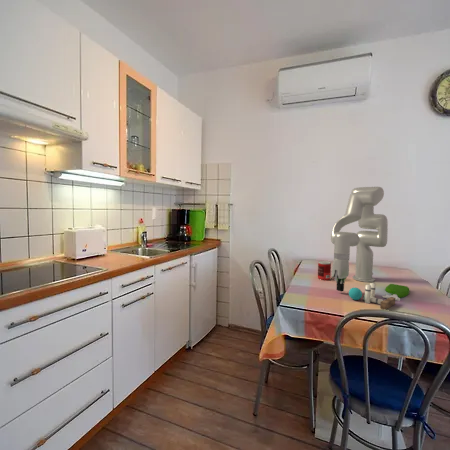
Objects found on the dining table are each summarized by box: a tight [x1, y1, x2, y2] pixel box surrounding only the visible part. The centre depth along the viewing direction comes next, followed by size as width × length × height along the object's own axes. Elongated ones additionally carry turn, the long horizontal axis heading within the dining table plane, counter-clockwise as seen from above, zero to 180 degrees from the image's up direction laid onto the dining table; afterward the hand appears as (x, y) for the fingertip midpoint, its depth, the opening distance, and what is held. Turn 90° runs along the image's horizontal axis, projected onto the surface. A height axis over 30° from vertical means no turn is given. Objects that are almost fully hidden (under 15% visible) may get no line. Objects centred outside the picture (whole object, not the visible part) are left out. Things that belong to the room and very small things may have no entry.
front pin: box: [362, 294, 385, 305], centre depth 125 cm, size 2×2×8 cm
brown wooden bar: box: [380, 297, 396, 310], centre depth 120 cm, size 12×2×3 cm, turn 129°
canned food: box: [317, 260, 332, 281], centre depth 167 cm, size 8×8×11 cm
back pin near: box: [364, 284, 371, 304], centre depth 125 cm, size 2×2×8 cm
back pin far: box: [369, 282, 377, 298], centre depth 128 cm, size 2×2×8 cm
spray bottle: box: [382, 283, 411, 302], centre depth 139 cm, size 3×11×24 cm
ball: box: [348, 287, 363, 301], centre depth 129 cm, size 6×6×6 cm
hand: (340, 290), depth 138 cm, fingers closed
